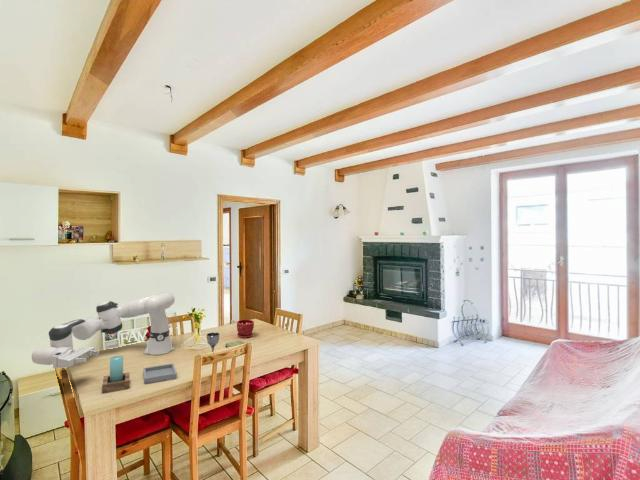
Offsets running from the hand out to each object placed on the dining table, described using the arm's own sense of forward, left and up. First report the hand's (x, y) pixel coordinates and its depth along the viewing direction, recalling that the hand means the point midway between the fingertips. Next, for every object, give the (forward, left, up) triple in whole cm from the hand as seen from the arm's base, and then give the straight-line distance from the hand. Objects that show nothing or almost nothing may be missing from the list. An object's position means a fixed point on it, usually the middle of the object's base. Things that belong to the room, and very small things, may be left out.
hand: (92, 356), depth 179 cm
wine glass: (-16, +65, -16) cm, 69 cm away
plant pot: (-49, +97, -16) cm, 110 cm away
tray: (+1, +32, -16) cm, 36 cm away
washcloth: (-26, +85, -16) cm, 90 cm away
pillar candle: (+5, +11, -16) cm, 20 cm away
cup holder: (+5, +11, -16) cm, 20 cm away
